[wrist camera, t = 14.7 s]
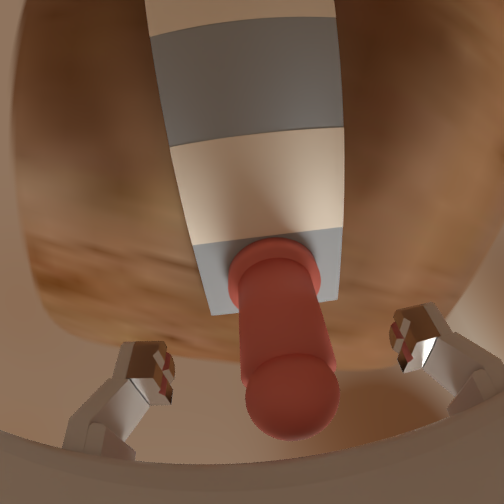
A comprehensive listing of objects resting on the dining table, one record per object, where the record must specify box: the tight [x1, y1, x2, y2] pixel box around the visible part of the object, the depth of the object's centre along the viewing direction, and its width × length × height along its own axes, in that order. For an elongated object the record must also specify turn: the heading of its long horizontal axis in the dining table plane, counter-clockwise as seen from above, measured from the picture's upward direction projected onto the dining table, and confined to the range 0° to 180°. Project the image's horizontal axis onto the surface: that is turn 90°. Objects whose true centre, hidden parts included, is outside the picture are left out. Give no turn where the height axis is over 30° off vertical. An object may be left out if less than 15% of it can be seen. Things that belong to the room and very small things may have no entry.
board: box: [145, 0, 344, 315], centre depth 10 cm, size 16×6×1 cm, turn 6°
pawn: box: [228, 237, 340, 441], centre depth 10 cm, size 4×4×7 cm
